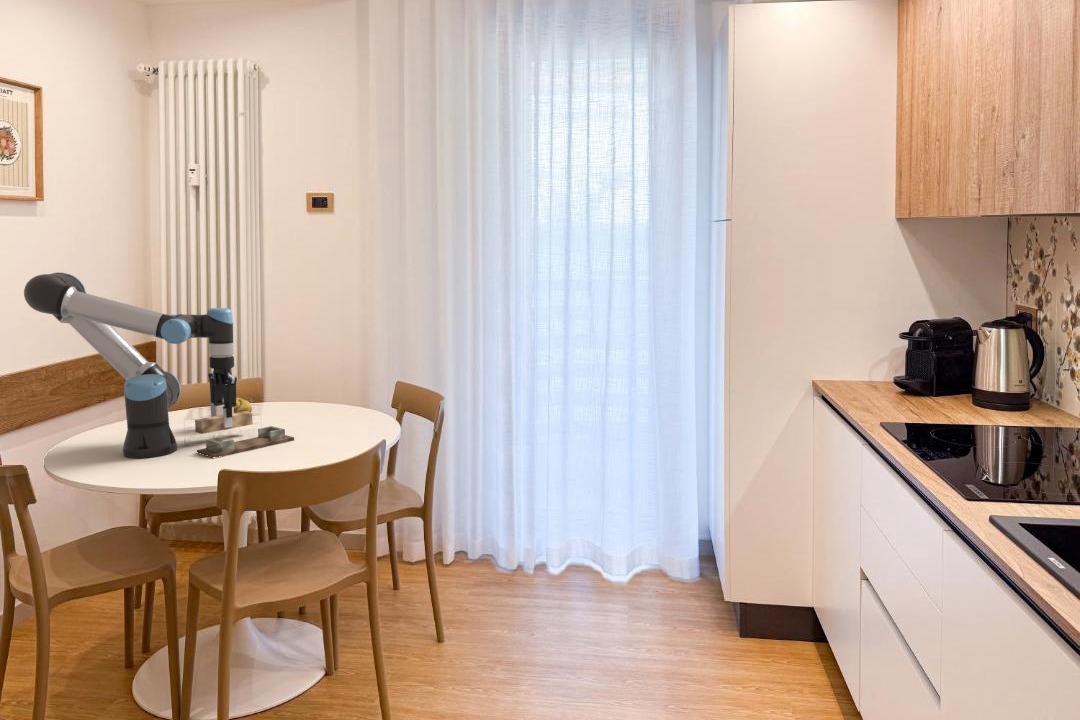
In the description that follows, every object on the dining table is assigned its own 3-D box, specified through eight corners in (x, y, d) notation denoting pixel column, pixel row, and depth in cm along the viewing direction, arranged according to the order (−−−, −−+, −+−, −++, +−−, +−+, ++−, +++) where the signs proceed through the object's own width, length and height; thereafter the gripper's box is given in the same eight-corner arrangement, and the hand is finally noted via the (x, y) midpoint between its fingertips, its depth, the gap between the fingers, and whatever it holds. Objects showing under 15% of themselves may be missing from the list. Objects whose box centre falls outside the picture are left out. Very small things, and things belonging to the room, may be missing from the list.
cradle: (214, 458, 243) (213, 445, 242) (196, 453, 249) (195, 440, 249) (294, 440, 265) (293, 428, 264) (276, 435, 271) (275, 424, 270)
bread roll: (222, 414, 307) (220, 393, 305) (249, 411, 311) (247, 391, 310) (225, 420, 295) (224, 399, 294) (253, 418, 299) (252, 396, 298)
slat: (202, 433, 259) (201, 421, 258) (195, 431, 261) (194, 419, 261) (252, 424, 273) (252, 412, 272) (245, 422, 275) (245, 411, 275)
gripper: (246, 357, 261) (249, 428, 265) (218, 352, 272) (220, 420, 275) (225, 359, 256) (227, 431, 259) (197, 354, 266) (199, 424, 269)
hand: (224, 425), depth 267 cm, fingers closed on slat, 4 cm apart
